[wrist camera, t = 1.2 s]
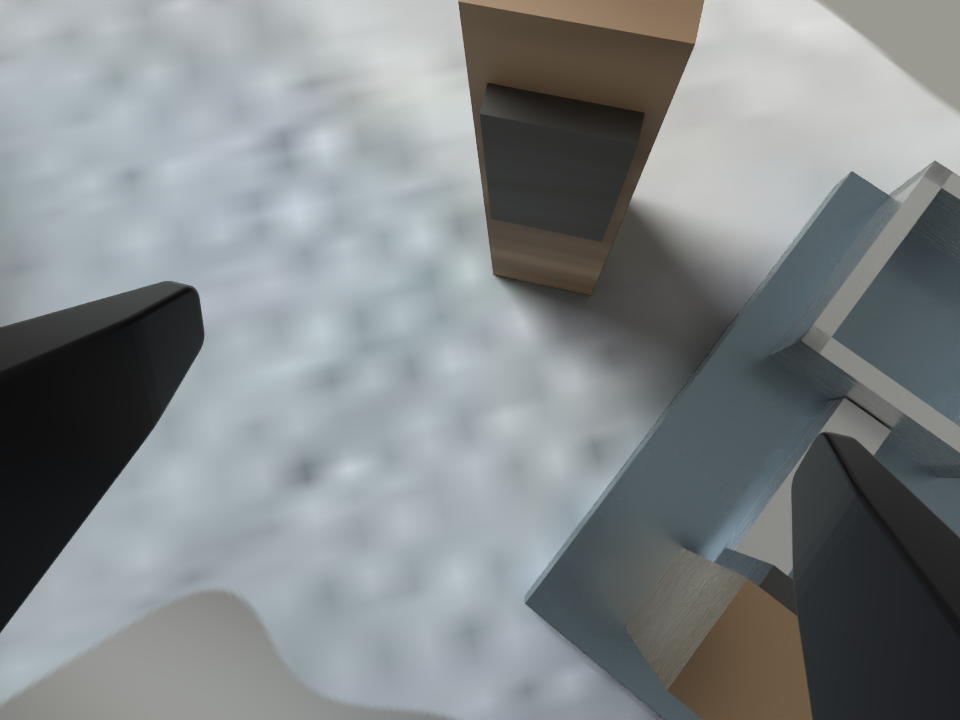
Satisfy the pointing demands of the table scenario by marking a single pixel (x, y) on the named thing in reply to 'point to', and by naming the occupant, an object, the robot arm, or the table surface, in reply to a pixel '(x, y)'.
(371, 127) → the table surface
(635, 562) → the rail
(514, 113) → the walnut finger
